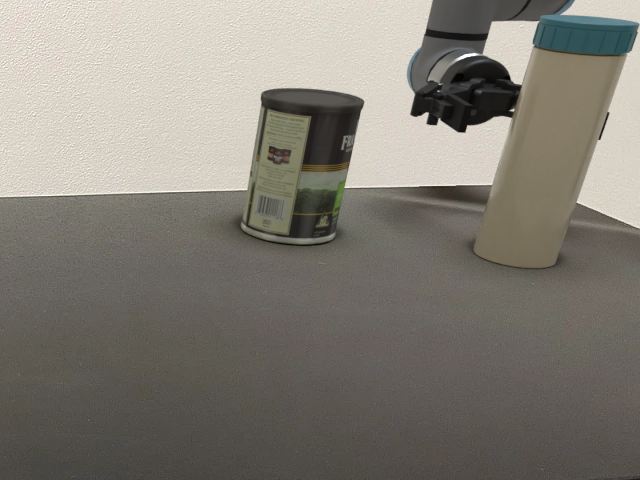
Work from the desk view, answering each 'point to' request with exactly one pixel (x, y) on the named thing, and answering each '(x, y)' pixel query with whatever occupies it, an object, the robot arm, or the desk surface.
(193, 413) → the desk surface
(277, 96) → the coffee can
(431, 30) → the robot arm
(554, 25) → the lid
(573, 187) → the jar
